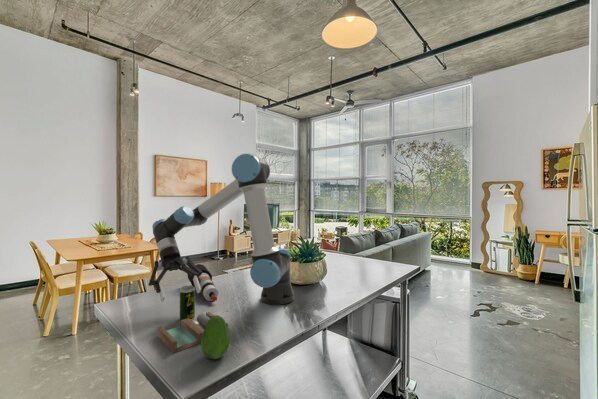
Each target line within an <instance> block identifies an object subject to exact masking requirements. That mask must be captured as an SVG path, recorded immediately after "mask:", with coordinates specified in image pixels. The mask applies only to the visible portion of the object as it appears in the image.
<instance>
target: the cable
mask: <svg viewBox="0 0 598 399" xmlns="http://www.w3.org/2000/svg"><path fill="white" fill-rule="evenodd" d="M195 265H196V266H197V267H198V268H199V269H200V270H201V271H202V274H201V276H199V278H200V281H201V282H200V287H201V290H200V292H199V293H200V294H201V295H203V296H202V297H204V298H205V300H206V301H208V302H214V303H215V302H218V301H217V300H218V297H219V290H218V289H217V287H216V285H215V284H214V281H213V276H212V274H211V272H210V271H209V270H208V268H207V267H206V266H205V265H204V264H201V263H197V264H195ZM186 274H187V273H186ZM186 276H187V279H188V281H189V282H190V284H191V286H194V289H195V290H196V287H195V284H194V282H193V278H194V277H192V276H190V275H189V274H187V275H186Z"/></svg>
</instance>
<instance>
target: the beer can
mask: <svg viewBox="0 0 598 399" xmlns="http://www.w3.org/2000/svg"><path fill="white" fill-rule="evenodd" d="M195 317H196V289H195V288H194V286H192V285H184V286H181V287H180V289H179V320H180V322H181V320H184V319H187V318H189V319H191V320H192V321H194V320H195Z"/></svg>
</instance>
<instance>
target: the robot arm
mask: <svg viewBox="0 0 598 399" xmlns="http://www.w3.org/2000/svg"><path fill="white" fill-rule="evenodd" d="M231 174H232V176H233V177H234V180H233V181H231V182H230V183H228V184H227V185H226V186H224V187H223V188H222V189H219V190H218V191H217V192H216V193H214V194H213V195H212V196H210V197H209V198H207V199H206V200H204V201H203V202H202V203H201V204H199V205H198V206H196V207H195V208H193V209H191V208H190V207H188V206H186V205H182V206H180V207H179V208H177V209H176V210H175V211H174V212H173V213H172V214H170V216H169V217H167V218H159V220H156V221H155V222H153V224H152V233H153V236H154V239H155V243H156V247H157V250H158V253H159V257H160V261H158V260H154V263H153V271H152V274H151V276H150V279H149V282H148V286H150V287H151V286H153V287H154V290H155V292H156V294H159V297H160V301H161V302H164V301H165V299H166V295H165V290H164V288H163V287H164V286H163V284H162V279H163V278H164V276H165V274H166V273H167V272H168V271H169V272H172V271H178V270H179V271H181V272H184V273H186V274H189V275H190V276H192V277H194V278H193V282H194V284H195V287H196V289H195V291H196V293H197V294H199V293H201V292H200V290H201V287H200V282H201V281H200V278H199V276H201V274H202V271H201V270H200V269H199V268H198V267H197V266H196V265H197V264H196V263H194V262H193V261H192V260H191V258H190V257H189V256H186V257H185V258H182V257H181V252H180V250H179V246H178V244H177V241H176V237H175V236H176V235H177V234H178V233H179V232H180V231H182V230H183V229H184V228H188V227H194V226H201V225H204V224H206V222H207V221H208V219H209V218H211V217H212V216H213V215H215V214H217V213H218V212H220V211H221V210H222V209H223V208H226V207H227V206H229V204H231V203H233V201H235V200H237V199H238V198H240V197H241V196H243V197H244V200H245V207H246V213H247V219H248V224H249V229H250V235H251V241H252V245H253V252H252V253H251V254H250V256H251V257H250V258H251V261H252V264H251V266H250V271H249V275H250V277H251V278H250V279H251V280H252V282H253V283H254V284H256V285H257V286H258V287H259V288H260V287H261V288H262V290H261V293H260V301H261V302H262V303H264V304H267V305H273V306H274V305H278V306H279V305H286V304H289V303H291V302H293V301H294V300H295V292H294V289H293V286H292V283H291V251H290V249H288V248H278V247H277V246H276V245H275V239H274V235H273V230H272V229H273V228H272V224H271V223H272V222H271V218H270V212H269V208H268V203H267V196H266V192H265V189H266V187H267V186H268V181H267V180H268V179H269V177H270V174H271V168H270V165H269V163H268V161H266V160H264V159H263V158H261V157H259V156H257V155H255V154H253V153H241V154H240V155H238V156H237V157H236V158H235V159H234V160H233V162H232V164H231ZM160 267H163V269H162V271H161V272H160V274H159V275H158V277H157V279H156V280H155V277H156V274H157V272H158V269H159V268H160Z"/></svg>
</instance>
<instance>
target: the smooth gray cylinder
mask: <svg viewBox="0 0 598 399" xmlns="http://www.w3.org/2000/svg"><path fill="white" fill-rule="evenodd" d="M209 319H210V318H209V317H207V316H206V314H205V313H199V315H197V317H196V321H197V322H198V323H199V324H201V325H202V326H203V327H206V325H207V323H208V321H209Z"/></svg>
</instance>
